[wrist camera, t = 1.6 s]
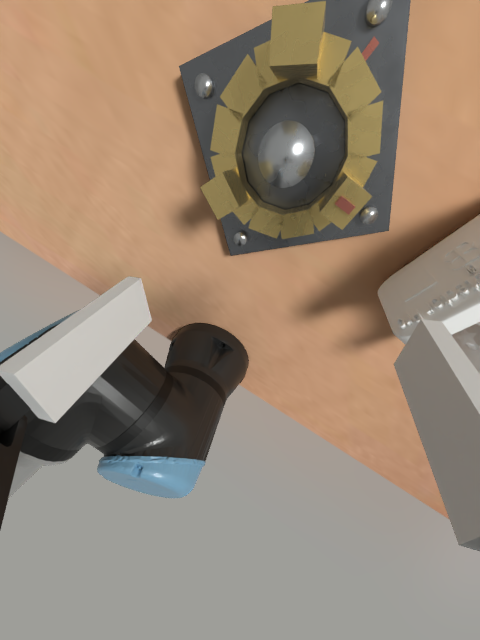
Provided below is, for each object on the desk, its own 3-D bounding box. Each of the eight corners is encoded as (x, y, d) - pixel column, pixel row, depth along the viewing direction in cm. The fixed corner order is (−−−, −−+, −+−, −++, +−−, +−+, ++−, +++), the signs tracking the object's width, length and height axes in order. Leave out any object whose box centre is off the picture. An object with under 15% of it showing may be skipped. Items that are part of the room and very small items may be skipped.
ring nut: (238, 240, 29) (221, 261, 24) (199, 82, 21) (161, 63, 16) (370, 216, 24) (385, 236, 19) (382, -2, 16) (412, -70, 11)
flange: (233, 251, 32) (216, 273, 27) (186, 70, 22) (144, 46, 17) (385, 226, 26) (403, 248, 20) (408, -40, 16) (453, -132, 11)
